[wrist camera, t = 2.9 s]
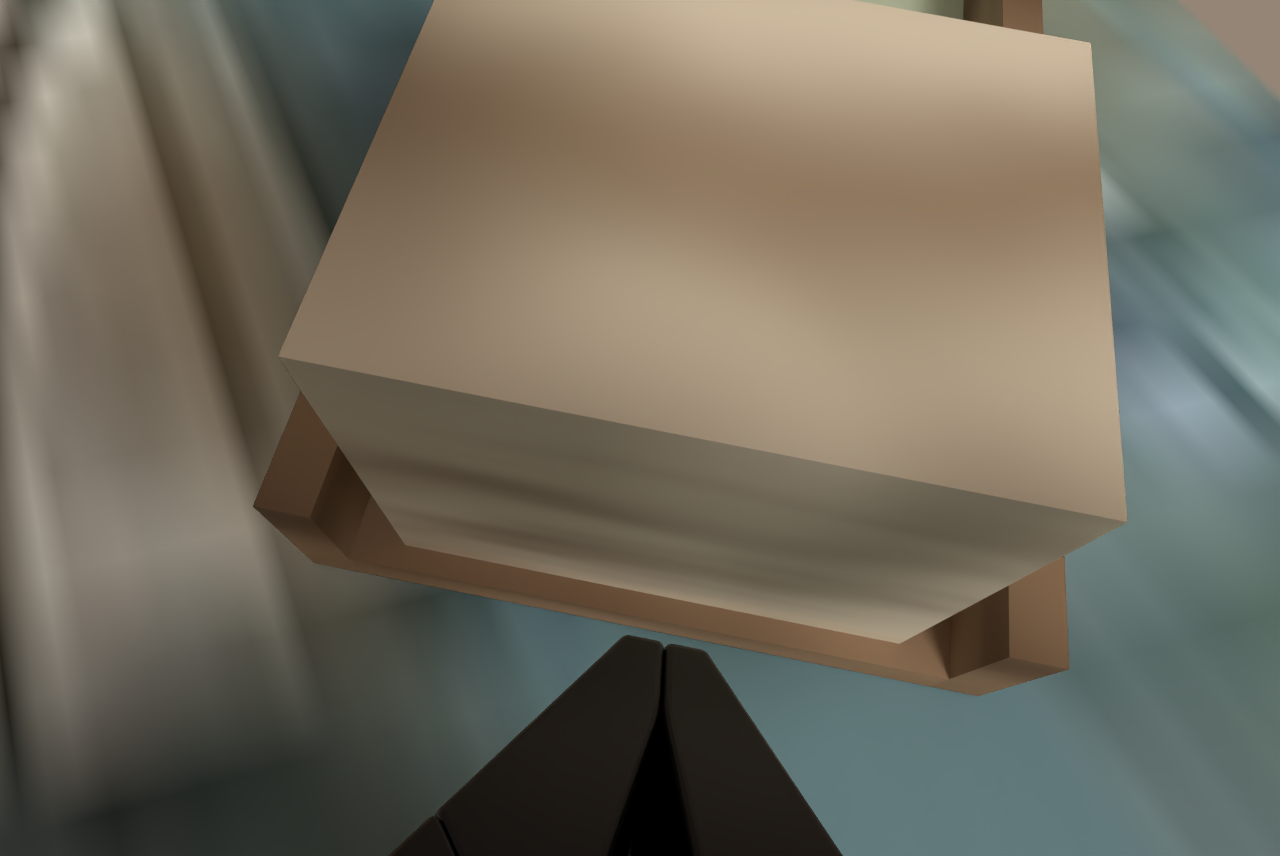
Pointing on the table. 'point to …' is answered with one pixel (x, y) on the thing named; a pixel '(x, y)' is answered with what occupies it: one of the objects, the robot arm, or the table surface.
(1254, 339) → the table surface
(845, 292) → the birch block
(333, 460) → the channel
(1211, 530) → the table surface
